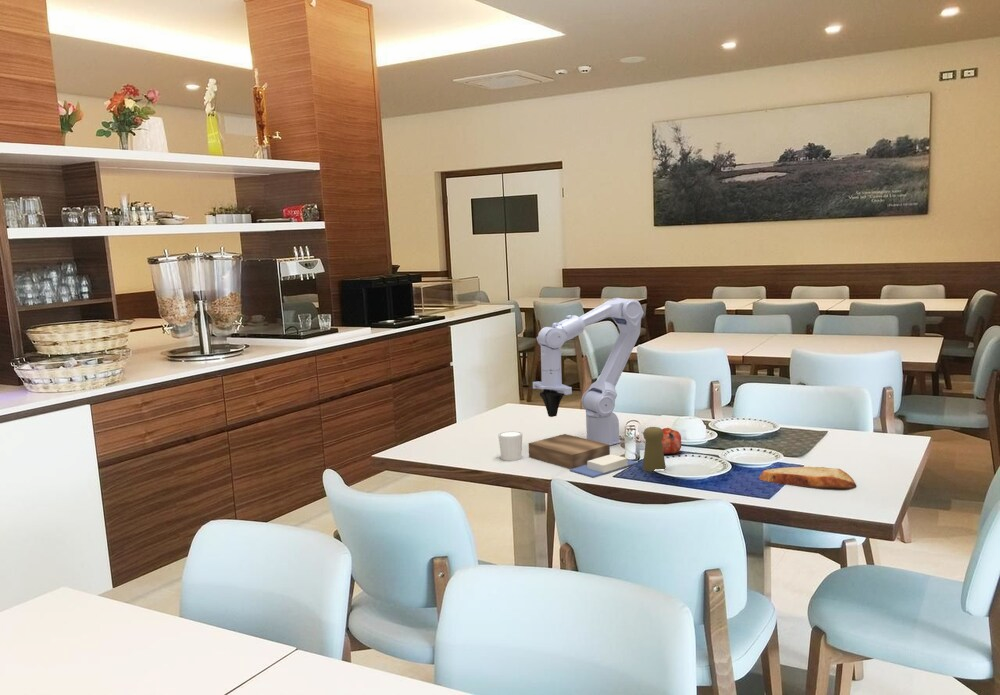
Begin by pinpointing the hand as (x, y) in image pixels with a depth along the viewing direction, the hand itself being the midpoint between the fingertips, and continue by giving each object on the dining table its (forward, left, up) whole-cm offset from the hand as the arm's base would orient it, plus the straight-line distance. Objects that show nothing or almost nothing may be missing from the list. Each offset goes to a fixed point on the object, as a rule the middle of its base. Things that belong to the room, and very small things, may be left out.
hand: (552, 416), depth 232 cm
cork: (-6, +32, -11) cm, 34 cm away
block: (+2, +23, -8) cm, 25 cm away
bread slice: (-23, +66, -11) cm, 71 cm away
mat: (+2, +22, -10) cm, 24 cm away
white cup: (+13, -4, -11) cm, 17 cm away
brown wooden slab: (+2, +8, -10) cm, 13 cm away
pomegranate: (-20, +25, -11) cm, 34 cm away
